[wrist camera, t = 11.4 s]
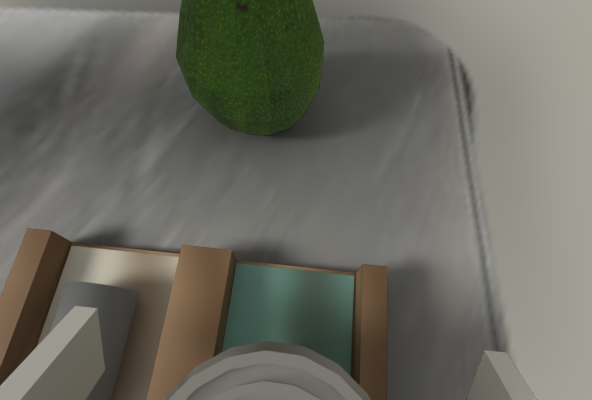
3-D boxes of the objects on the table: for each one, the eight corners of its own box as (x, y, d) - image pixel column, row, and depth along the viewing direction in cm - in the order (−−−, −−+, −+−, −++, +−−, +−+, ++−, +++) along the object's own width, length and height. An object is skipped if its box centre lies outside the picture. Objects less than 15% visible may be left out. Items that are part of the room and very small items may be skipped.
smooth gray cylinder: (95, 513, 16) (48, 547, 13) (22, 503, 16) (-40, 535, 13) (149, 297, 19) (121, 285, 17) (89, 291, 20) (51, 278, 17)
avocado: (296, 55, 28) (306, -147, 17) (331, 144, 25) (370, -29, 14) (188, 77, 27) (121, -123, 16) (211, 173, 24) (148, 10, 13)
